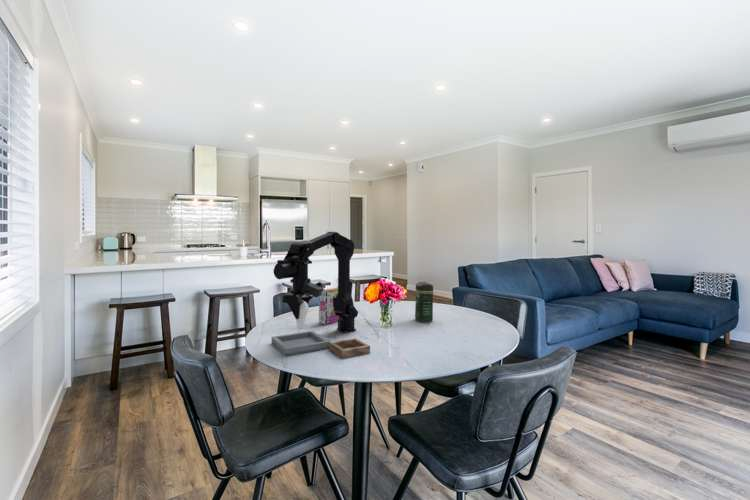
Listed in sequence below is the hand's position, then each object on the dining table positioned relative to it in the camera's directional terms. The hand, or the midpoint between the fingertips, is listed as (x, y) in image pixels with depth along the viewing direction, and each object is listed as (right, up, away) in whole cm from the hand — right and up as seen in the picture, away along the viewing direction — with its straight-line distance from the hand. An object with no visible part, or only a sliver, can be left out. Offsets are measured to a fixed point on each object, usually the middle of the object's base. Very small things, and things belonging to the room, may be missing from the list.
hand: (300, 317), depth 144 cm
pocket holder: (+19, -11, -5) cm, 23 cm away
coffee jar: (+52, -9, +42) cm, 67 cm away
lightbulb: (0, -5, 0) cm, 5 cm away
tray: (0, -11, +1) cm, 11 cm away
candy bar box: (+7, -9, +36) cm, 38 cm away
